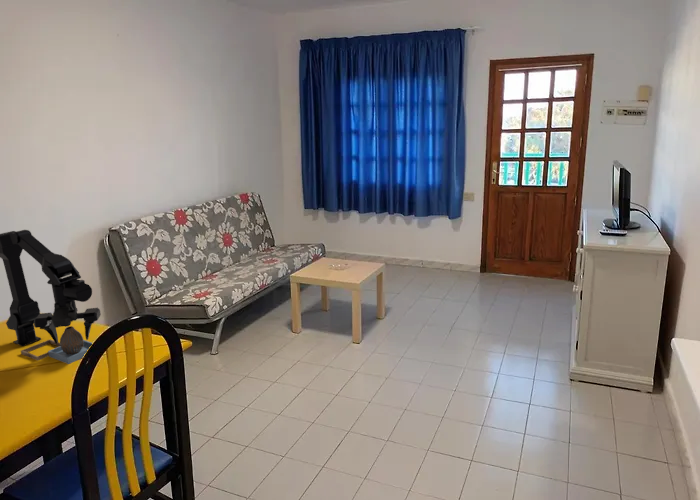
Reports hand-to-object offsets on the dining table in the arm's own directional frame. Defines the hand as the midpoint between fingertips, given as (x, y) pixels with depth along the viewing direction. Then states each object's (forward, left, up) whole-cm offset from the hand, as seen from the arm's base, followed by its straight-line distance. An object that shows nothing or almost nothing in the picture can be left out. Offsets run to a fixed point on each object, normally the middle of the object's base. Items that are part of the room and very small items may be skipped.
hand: (72, 341), depth 173 cm
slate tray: (0, 0, -4) cm, 4 cm away
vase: (0, 0, -4) cm, 4 cm away
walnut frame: (-11, -4, -4) cm, 13 cm away
